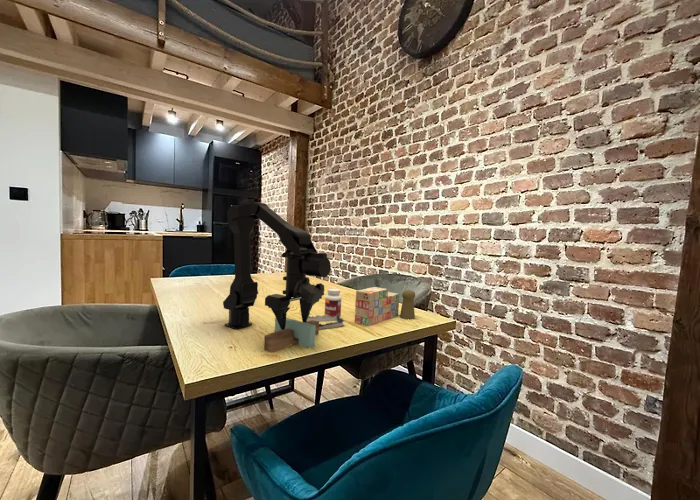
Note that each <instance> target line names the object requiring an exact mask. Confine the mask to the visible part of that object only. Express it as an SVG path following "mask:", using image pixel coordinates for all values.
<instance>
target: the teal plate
mask: <svg viewBox="0 0 700 500" xmlns="http://www.w3.org/2000/svg"><path fill="white" fill-rule="evenodd" d="M286 328H287V329H290V330H294V335H293V337H295V338H298V339H299V342H298V346H299V345H300V346H303V347H305V348H309V349H311V348H312V347H313V348H314V347H316V344H315V343H316V335H315V328H316V325H312V324H309V323H305V322H303V321H302V320H301V321H300V320H296V319H294V318H293V319H292V318H289V317H286V325H285V329H286ZM279 330H282V329H281V328H280V326H279V323H278V321H277V319H276V317H275V319H274V332H276V331H279Z"/></svg>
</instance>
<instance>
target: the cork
mask: <svg viewBox="0 0 700 500" xmlns="http://www.w3.org/2000/svg"><path fill="white" fill-rule="evenodd" d="M401 297H402V298H403V299H402V303H401V307H400V314H399V318H400V319H403V320H408V319H409V320H408V321H411V320H410V319H413V320H415V319H416V316H415V300H414V299H416V293H415V291H413V290H411V289H405V290H403V291H402V293H401Z"/></svg>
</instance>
